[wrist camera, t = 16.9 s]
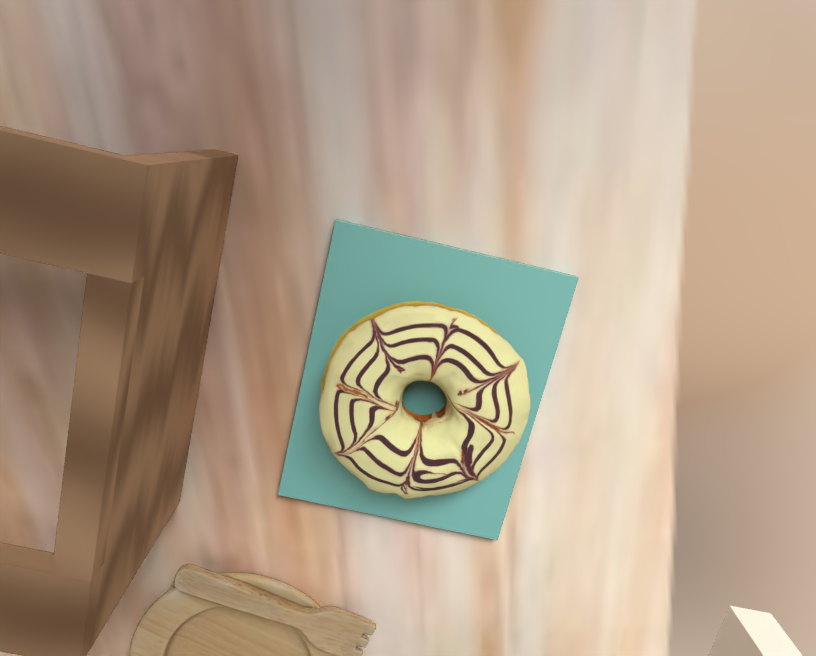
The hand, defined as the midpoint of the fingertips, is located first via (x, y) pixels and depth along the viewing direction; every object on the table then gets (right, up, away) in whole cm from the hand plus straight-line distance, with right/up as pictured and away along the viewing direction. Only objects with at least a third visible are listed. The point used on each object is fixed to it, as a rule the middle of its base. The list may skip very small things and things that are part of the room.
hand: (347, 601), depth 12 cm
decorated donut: (+2, +1, +26) cm, 26 cm away
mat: (+2, +1, +27) cm, 27 cm away
